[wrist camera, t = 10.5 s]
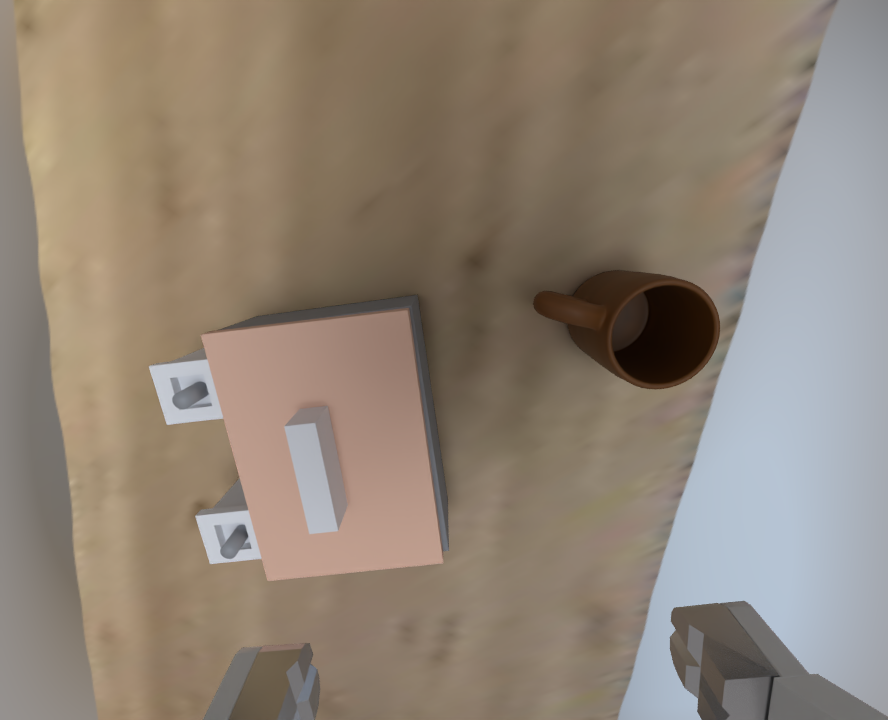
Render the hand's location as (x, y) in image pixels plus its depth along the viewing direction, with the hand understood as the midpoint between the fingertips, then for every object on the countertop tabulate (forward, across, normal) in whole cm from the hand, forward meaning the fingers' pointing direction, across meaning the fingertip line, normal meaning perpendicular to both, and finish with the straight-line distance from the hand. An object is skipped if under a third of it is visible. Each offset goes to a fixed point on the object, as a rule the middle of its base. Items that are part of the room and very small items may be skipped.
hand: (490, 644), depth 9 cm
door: (+21, +12, +6) cm, 25 cm away
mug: (+29, -11, -2) cm, 31 cm away
